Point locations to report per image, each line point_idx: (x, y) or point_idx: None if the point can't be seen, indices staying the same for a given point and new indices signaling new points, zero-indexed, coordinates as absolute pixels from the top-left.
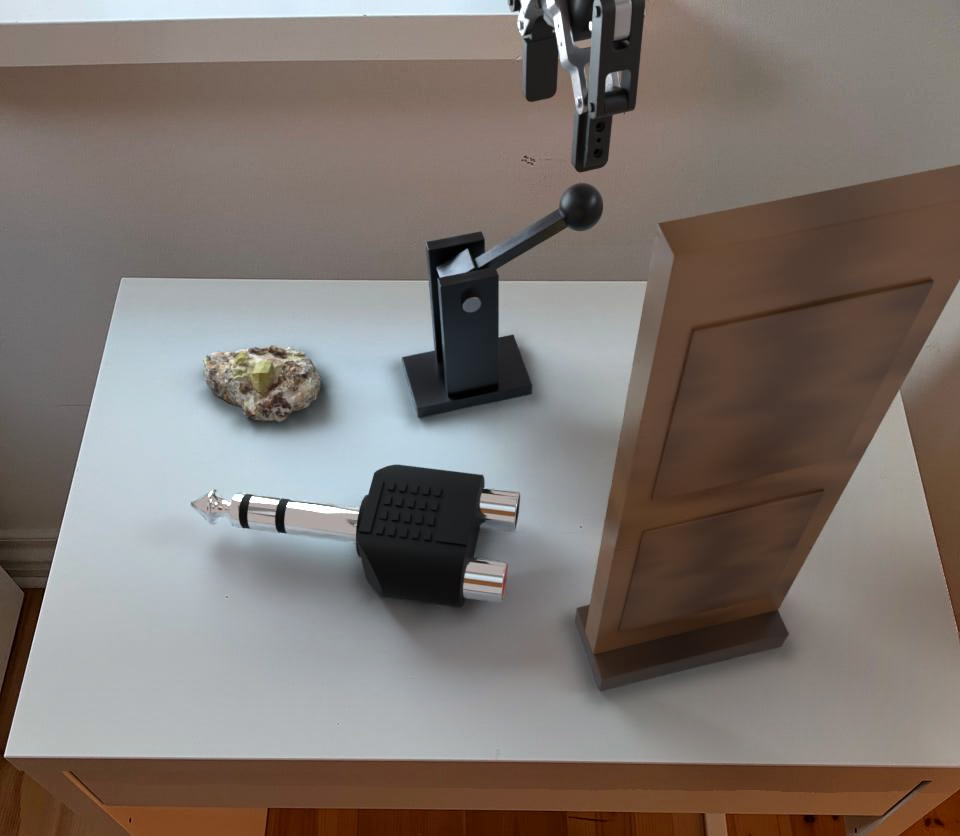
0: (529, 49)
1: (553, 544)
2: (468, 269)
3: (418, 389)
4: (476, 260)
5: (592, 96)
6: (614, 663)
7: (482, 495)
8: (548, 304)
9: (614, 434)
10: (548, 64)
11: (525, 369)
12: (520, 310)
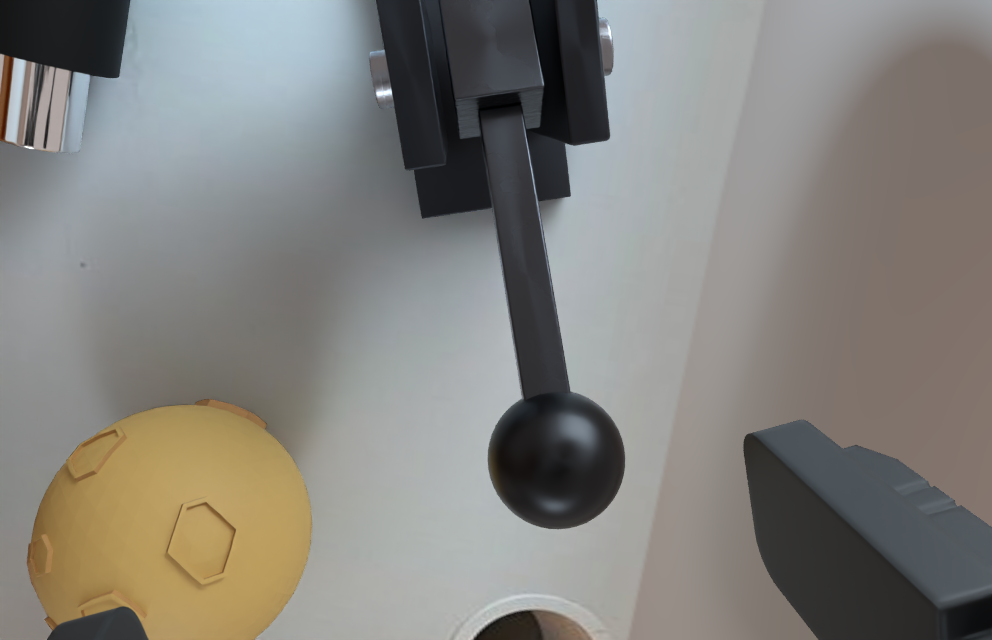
0: (911, 595)
1: (39, 207)
2: (458, 79)
3: None
4: (510, 110)
5: None
6: None
7: (19, 63)
8: (667, 280)
9: (307, 359)
10: (848, 631)
11: (465, 209)
12: (661, 220)
